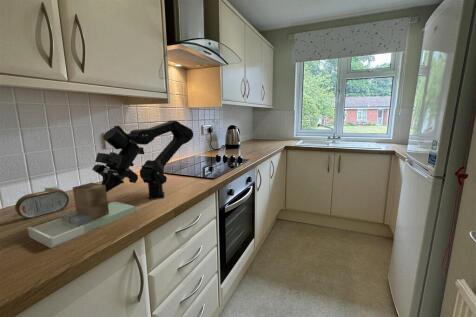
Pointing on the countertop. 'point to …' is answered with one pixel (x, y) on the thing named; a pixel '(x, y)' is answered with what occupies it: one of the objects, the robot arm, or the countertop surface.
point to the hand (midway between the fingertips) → (100, 194)
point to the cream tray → (54, 233)
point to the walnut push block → (91, 200)
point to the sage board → (107, 216)
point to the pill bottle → (51, 187)
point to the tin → (41, 203)
